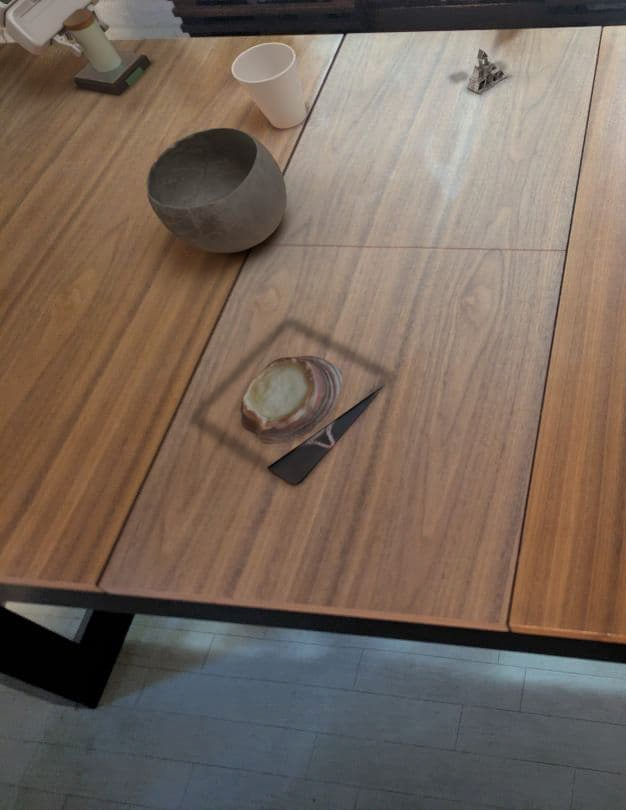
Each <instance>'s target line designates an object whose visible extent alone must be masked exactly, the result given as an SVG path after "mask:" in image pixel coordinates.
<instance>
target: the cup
mask: <svg viewBox="0 0 626 810" xmlns="http://www.w3.org/2000/svg"><path fill="white" fill-rule="evenodd" d="M230 70H231V75H232V76H233V78H234V79H235V80H237V82H238V83H239V84H240V85H241V87H242V88H243V90H245V92H246V93H247V94H248V96H249V98H251V100H252V101H253V102H254V103H255V105H256V106H257V107H258V108H259V110H260V111H261V112H262V113H263V115H264V116H265V118H266V119H267V120H268V121H269V122H270V124H271V125H272V126H273V127H274V128H276V129H281V130H282V129H283V130H284V129H290V128H294V127H296V126H299V124H301V123H302V122H303V121H304V120H305V118H306V117H307V109H306V108H307V107H306V104H305V103H306V102H305V98H304V93H303V87H302V83H301V78H300V77H301V76H300V73H299V67H298V63H297V55H296V51H295V49H293V48H292V47H291V45H288V44H286V43H282V42H272V41H271V42H263V43H260V44H257V45H255V46H251V47H249V48H248V49H245V50H244V51H242V52H241V53H240V54H239V55H238V56H237V57H236V58H235V59H234V60H233V62H232V64H231V68H230Z"/></svg>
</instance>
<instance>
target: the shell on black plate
mask: <svg viewBox="0 0 626 810" xmlns="http://www.w3.org/2000/svg"><path fill="white" fill-rule="evenodd" d="M342 384H343V373H342V371H341V369H340V368H339V367H338V366H337V365H336V364H334V363H333V362H331V361H329V360H327V359H325V358H322V357H320V356H314V355H301V356H300V355H299V356H284V357H283V356H282V357H279V358H277V359H275V360H273V361H271V362H270V363H268V365H266V366H265V368H264V369H263V371H262V372H261V373H260V374H258V375H257V376H254V377H253V378H252V380H251V382H250V383H249V384H248V385H247V387H246V389H245V391H244V393H243V395H242V397H241V402H240V403H241V405H240V412H241V425H242V427H243V428H244V429H245V430H246V431H247V432H249V433H252V434H254V435H256V436H257V437H258V438H259V440H260V442H261V443H263V444H264V445H273V444H274V445H275V444H284V443H285V444H287V443H291V442H294V441H295V440H298V439H300V438H302V437H304V436H306V435H309V434H312V433H313V432H314V431H315V430H316V429H318V427H319V426H320V425H321V424H322V423H323V422H324V421H325V420H326V419H327V418H328V416H329V415H330V413H331V412H332V410H333V408H334V407H335V405H336V401H337V398H338V396H339V393H340V390H341V387H342ZM384 386H385V385H382V386H380V387H379V388H378V389H376V390H374V391H373V392H371V393H370V394H368V395H367V396H366V397H364V398H363V399H362V400H360V401H359V402H357V403H356V404H355V405H353V406H352V407H351V408H349V409H348V410H346V411H345V412H343V413H342V414H341V415H339V416H338V417H336V418H335V419H333V420H332V421H331V422H329V423H328V424H326V425H325V426H324V427H322V428H321V429H320V430H318V431H316V432H315V433H314V434H312V435H311V436H310V437H308V438H307V439H305V440H304V441H302V442H300V443H299V444H298V445H297V446H295V447H294V448H292V449H291V450H289V451H288V452H287V453H286V454H284V455H283V456H281V457H280V458H278V459H277V460H276V461H274V462H273V463H271V464H270V465H268V466H267V467H266V468H267V469H268V470H270V471H271V472H273V473H274V474H276V475H277V476H279V477H280V478H281V479H283V480H285V481H286V482H288V483H290V484H293V485H295V484H298V483H300V482H301V481H302V480H303V478H305V477H306V476H307V475H308V473H310V471H311V470H312V469H313V468H314V467H315V466H316V465H317V463H318V462H320V460H321V459H322V458H323V457H324V456H325V455H326V454H327V453H328V452H329V451H330V450H331V449H332V447H333V446H335V444H337V442H338V441H339V440H340V439H341V438H342V436H343V435H344V434H345V433H346V432H347V431H348V429H349V428H350V427H351V426H352V424H353V423H354V422H355V421H356V420H357V419H358V418H359V416H360V415H361V414H362V412H363V411H364V410H365V409H366V408H367V406H369V404H370V403H371V402H372V400H373V399H374V398H375V397H376V395H377V394H378V393H379V392H380V391H381V389H382V388H383V387H384Z"/></svg>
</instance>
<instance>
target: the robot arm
mask: <svg viewBox="0 0 626 810" xmlns="http://www.w3.org/2000/svg"><path fill="white" fill-rule="evenodd" d="M99 3H100V0H0V28H4V29H5V32H6V33H7V35H8V36H9V37H10V38H11V39H12V40H14V41H15V42H16V43H17V44H18V45H19V46H21V47H22V48H23V49H24V50H26V51H27V52H28V53H30V54H32V55H36V56H42V55H43V54H44V53H45V52H46V51H48V49H50V48H51V47H52V46H53V47H55V48H56V49H58V50H62V51H66V52H71V54H73V55H74V56H76V57H78V58H80V57H81V56H83V54H84V48H83V47H82V46H79V44H78V43H77V42H76V41H74V43H71V42H67V41H65V40H63V36H64V35H65V34H66V33H67V32H69V31H68V29H66V27H65V26H64V24H63V21H64V20H66V19H67V18H68V17H69V16H70V15H71V14H72V13H73V12H74V11H76V10H77V9H89V10H90V11H91V12H92V14H93V15H94V17H95V19H96V21H97V22H98V24H99V25H100V27H101V28H102V30H103V32H104V33H105V34H106V33H107V31H108V30H109V28H110V24H109V23H108V22H107V21H106V20H105V19H103V18H102V16H101V14H100V12H99V11H98V9H97V7H95V6H97V5H98V4H99Z"/></svg>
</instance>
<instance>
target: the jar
mask: <svg viewBox="0 0 626 810" xmlns="http://www.w3.org/2000/svg"><path fill="white" fill-rule="evenodd" d="M63 24H64V26H65V27H66V29H68V31H67V32H68V33H70V35H71V37H72V38H73V39H74V42H76V43H78V44H79V46H82V47H83V48H84V53H83V54H84V55H85V56H86V58H87V60H88V61H89V62H90V63H91V64H92V65H93V67H94V68H95V70H96V71H97V72H101V73H103V72H109V71H112V70H114V69H116V68H117V67H118V66H119V65H120V64H121V58H120V56H119V55H118V53H117V52H116V50H117V49H115V47H114V45H113V44H112V42H111V41H110V39H109V37H108V36H107V35H106V32H105V33H104V32H103V30H102V28H101V27H100V25H99V24H98V22H97V21H96V19H95V17H94V15H93V14H92V12H91V11H90V10H89V9H77V10H76V11H74V12H73V13H72V14H71V15H70V16H69V17H68V18H67V19H66V20H64V21H63Z"/></svg>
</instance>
